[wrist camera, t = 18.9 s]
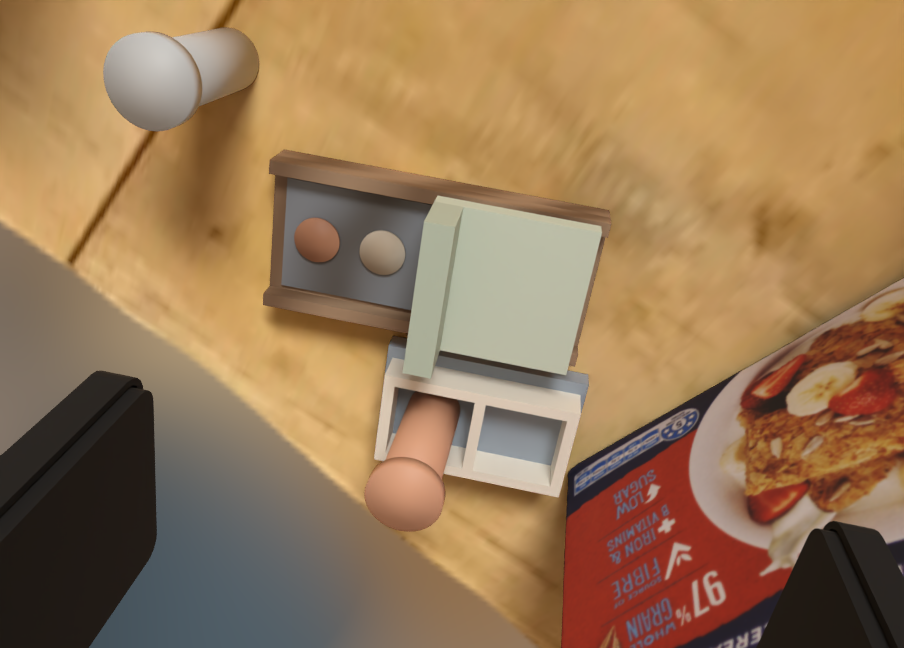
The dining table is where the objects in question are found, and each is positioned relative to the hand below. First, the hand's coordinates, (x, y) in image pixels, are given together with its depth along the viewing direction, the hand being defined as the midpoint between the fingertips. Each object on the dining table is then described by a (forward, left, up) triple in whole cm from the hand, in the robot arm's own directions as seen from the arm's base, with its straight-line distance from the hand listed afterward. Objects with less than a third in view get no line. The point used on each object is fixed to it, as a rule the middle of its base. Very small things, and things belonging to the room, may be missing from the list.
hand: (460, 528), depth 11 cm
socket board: (0, +17, -30) cm, 35 cm away
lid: (0, +8, -28) cm, 29 cm away
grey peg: (+16, 0, -30) cm, 34 cm away
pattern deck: (+4, +8, -30) cm, 32 cm away
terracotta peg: (+3, +17, -29) cm, 34 cm away
